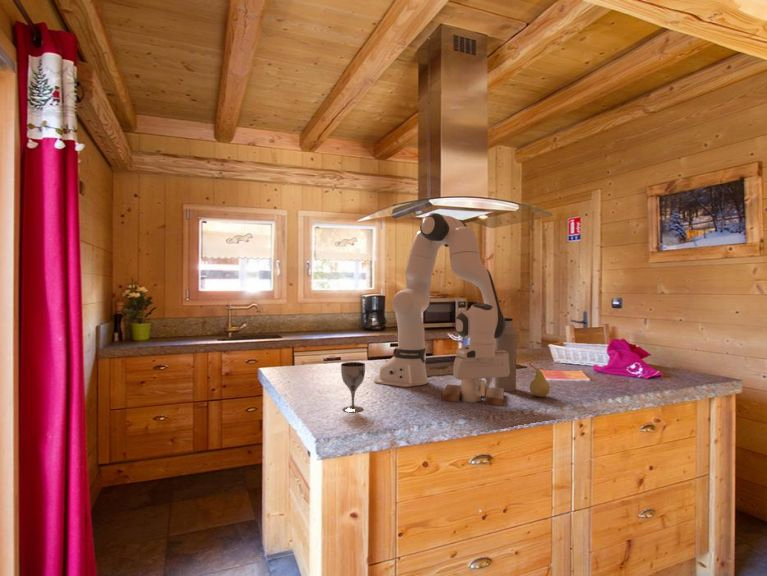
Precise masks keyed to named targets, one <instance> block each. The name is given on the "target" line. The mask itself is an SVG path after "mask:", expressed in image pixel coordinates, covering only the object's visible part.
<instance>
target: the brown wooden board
mask: <svg viewBox="0 0 767 576" xmlns="http://www.w3.org/2000/svg"><path fill="white" fill-rule="evenodd" d="M504 393H505V391H504V389H501V388H495V387H489V390H488V391H485V396H482V397H483V398H484V405H491V404H495V405H494V406H502V405H503V406H504V395H505V394H504ZM482 397H481V398H482ZM460 400H461V385H459V384H446V386H445V387H444V390H443V391H442V393H441V401H445V402H446V401H447V402H455V401H459V402H460Z"/></svg>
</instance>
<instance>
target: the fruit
mask: <svg viewBox="0 0 767 576" xmlns="http://www.w3.org/2000/svg"><path fill="white" fill-rule="evenodd" d="M529 366H530V367H532V368H533V369H535V377H534V379H533V380H532V381H530V383H529V391H530V393H531V394H532V395H533V396H535V397H538V398H545V397H547V396H548V395H549V393H550V389H551V388H550V387H551V386H550V383H548V380H547V379H546V377H545V376H544V373H543V371H541V369H539V368H537V367H535V366H534V365H532V364H531V363H529Z"/></svg>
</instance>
